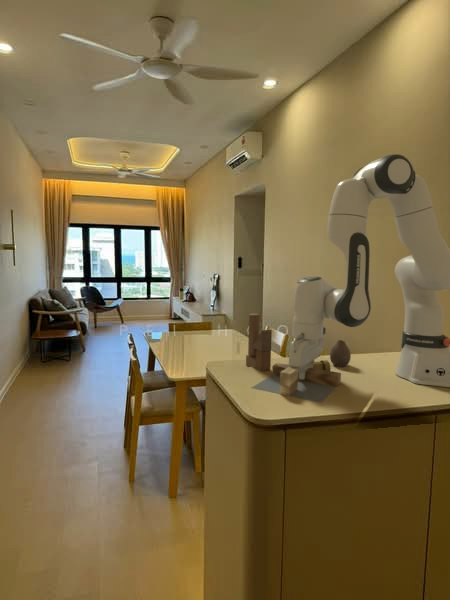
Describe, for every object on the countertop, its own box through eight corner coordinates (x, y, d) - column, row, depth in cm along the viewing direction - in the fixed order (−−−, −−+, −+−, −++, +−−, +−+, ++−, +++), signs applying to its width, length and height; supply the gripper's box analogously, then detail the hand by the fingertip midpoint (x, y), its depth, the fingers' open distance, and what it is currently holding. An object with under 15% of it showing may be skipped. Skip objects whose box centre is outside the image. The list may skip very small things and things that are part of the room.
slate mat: (336, 390, 112) (336, 387, 112) (320, 405, 101) (321, 402, 100) (271, 377, 123) (271, 375, 123) (251, 390, 111) (251, 387, 111)
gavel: (277, 351, 144) (302, 350, 147) (277, 363, 145) (302, 362, 147) (302, 363, 124) (331, 361, 127) (302, 377, 124) (330, 375, 127)
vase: (328, 366, 136) (329, 341, 135) (331, 361, 143) (332, 338, 142) (349, 369, 134) (350, 343, 133) (351, 364, 140) (352, 339, 139)
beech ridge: (297, 389, 110) (298, 368, 109) (289, 395, 105) (290, 373, 104) (288, 387, 111) (288, 366, 111) (279, 393, 106) (280, 372, 106)
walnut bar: (340, 386, 117) (340, 372, 116) (337, 389, 113) (337, 376, 113) (276, 375, 126) (277, 362, 126) (272, 378, 123) (272, 365, 122)
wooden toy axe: (261, 373, 127) (262, 318, 125) (245, 365, 136) (246, 313, 134) (270, 372, 128) (272, 317, 126) (254, 364, 138) (256, 313, 136)
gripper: (305, 338, 107) (303, 387, 109) (327, 327, 125) (325, 370, 126) (284, 335, 111) (282, 383, 112) (308, 325, 128) (306, 366, 130)
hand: (305, 376), depth 120 cm, fingers closed on walnut bar, 4 cm apart
